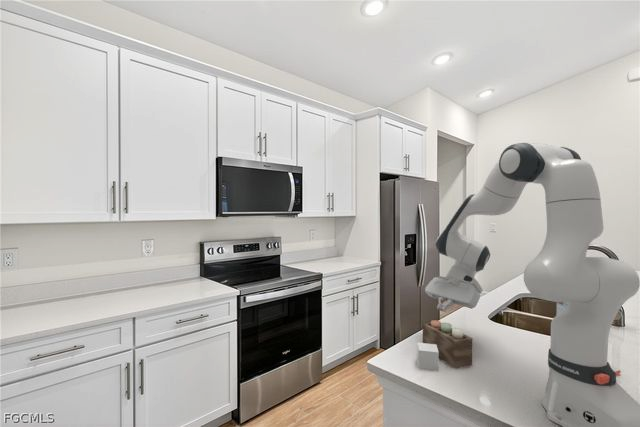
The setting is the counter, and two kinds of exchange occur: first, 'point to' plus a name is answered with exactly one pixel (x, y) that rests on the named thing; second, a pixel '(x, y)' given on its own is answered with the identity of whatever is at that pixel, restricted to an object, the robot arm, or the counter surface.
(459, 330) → the cream button
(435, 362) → the grey cube
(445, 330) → the sage button
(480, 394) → the counter surface
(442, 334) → the brown wooden box
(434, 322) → the terracotta button
